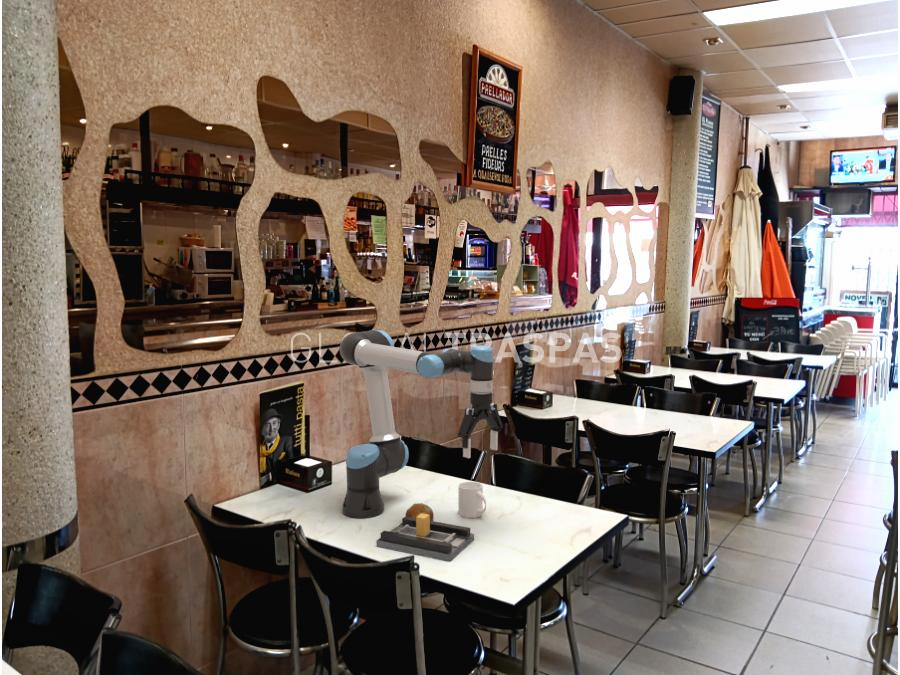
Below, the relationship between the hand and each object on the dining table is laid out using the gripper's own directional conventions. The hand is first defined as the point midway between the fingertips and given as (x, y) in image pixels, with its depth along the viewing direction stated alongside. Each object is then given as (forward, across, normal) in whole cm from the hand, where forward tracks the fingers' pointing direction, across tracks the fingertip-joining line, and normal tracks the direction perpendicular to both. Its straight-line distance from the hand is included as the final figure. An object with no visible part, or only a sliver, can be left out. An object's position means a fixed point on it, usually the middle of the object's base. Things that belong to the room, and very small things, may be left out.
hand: (480, 453), depth 238 cm
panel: (+25, -24, +1) cm, 35 cm away
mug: (+25, +4, +7) cm, 27 cm away
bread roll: (+26, -13, +17) cm, 33 cm away
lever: (+23, -25, +2) cm, 34 cm away
